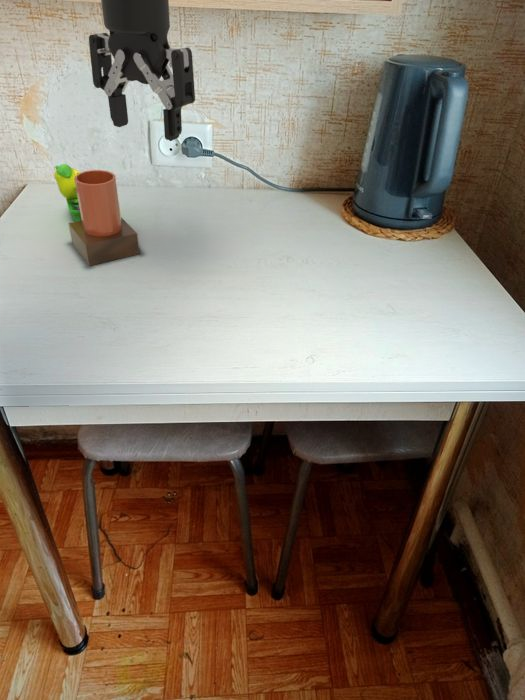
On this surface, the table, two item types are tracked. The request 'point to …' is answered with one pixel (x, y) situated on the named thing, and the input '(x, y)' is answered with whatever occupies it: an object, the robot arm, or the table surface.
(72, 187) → the fruit basket
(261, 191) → the table surface
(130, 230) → the block
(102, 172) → the cup
